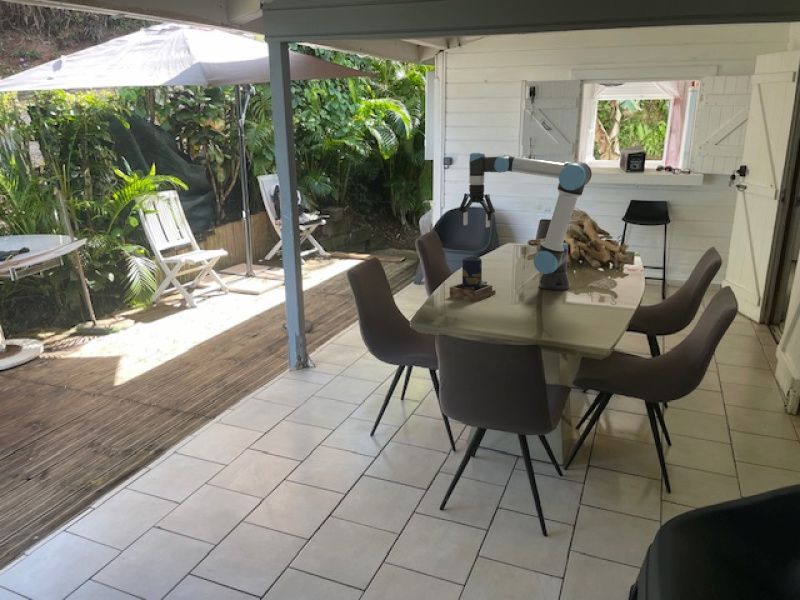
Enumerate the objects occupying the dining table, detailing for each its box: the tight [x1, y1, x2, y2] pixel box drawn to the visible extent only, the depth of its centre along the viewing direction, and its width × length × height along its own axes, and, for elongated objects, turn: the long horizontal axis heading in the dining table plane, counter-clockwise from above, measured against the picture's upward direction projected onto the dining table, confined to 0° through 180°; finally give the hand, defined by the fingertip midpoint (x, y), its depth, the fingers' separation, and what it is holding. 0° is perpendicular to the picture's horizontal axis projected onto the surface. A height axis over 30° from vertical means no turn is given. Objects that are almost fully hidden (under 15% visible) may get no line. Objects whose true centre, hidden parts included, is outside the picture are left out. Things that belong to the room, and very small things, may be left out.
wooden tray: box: [449, 283, 496, 303], centre depth 302 cm, size 15×18×5 cm
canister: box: [461, 255, 483, 291], centre depth 299 cm, size 10×10×18 cm
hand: (476, 225), depth 314 cm, fingers open, 13 cm apart
